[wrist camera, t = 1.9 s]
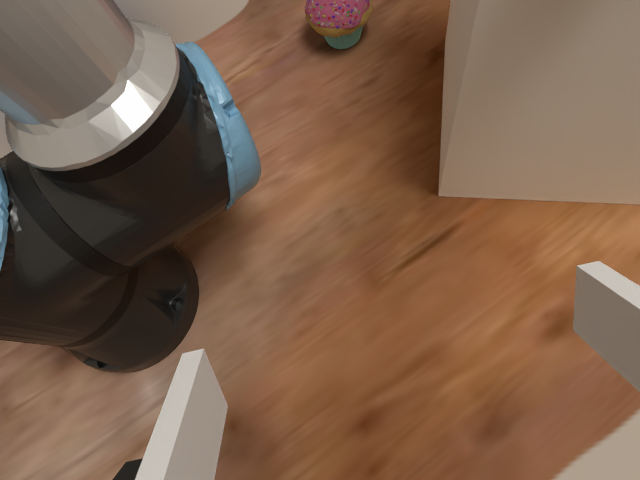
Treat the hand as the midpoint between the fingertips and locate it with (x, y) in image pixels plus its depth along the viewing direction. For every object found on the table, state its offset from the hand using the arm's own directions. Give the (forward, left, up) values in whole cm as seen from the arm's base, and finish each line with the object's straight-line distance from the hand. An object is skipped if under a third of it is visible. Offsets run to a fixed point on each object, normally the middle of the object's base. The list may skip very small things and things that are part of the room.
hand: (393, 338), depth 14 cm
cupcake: (-37, +23, -26) cm, 51 cm away
